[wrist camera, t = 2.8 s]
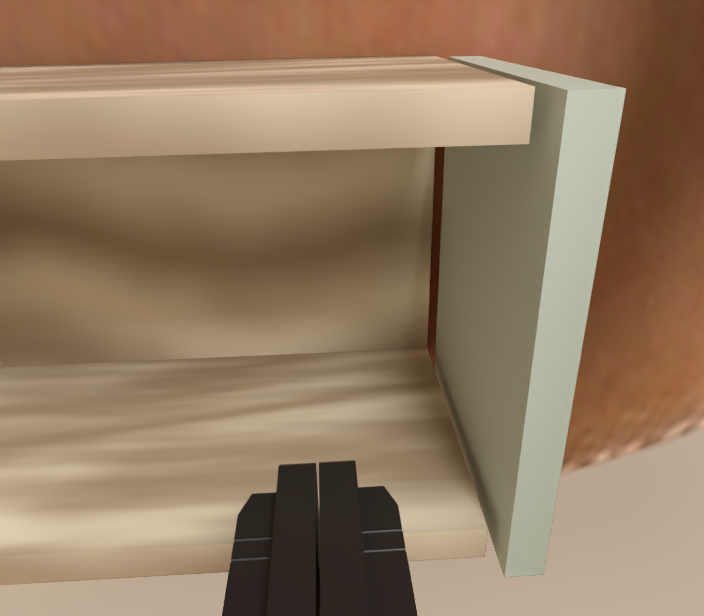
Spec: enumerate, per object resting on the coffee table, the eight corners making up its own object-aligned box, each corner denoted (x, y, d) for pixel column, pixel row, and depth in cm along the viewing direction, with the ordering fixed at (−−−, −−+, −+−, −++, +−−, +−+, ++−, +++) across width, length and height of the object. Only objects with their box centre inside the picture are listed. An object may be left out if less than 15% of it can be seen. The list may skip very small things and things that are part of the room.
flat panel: (449, 56, 23) (567, 90, 12) (480, 55, 23) (626, 88, 12) (434, 369, 29) (504, 577, 18) (459, 368, 29) (543, 575, 18)
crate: (-106, 69, 23) (-503, 115, 12) (433, 55, 24) (535, 86, 13) (-4, 376, 29) (-203, 597, 18) (422, 357, 30) (485, 556, 19)
